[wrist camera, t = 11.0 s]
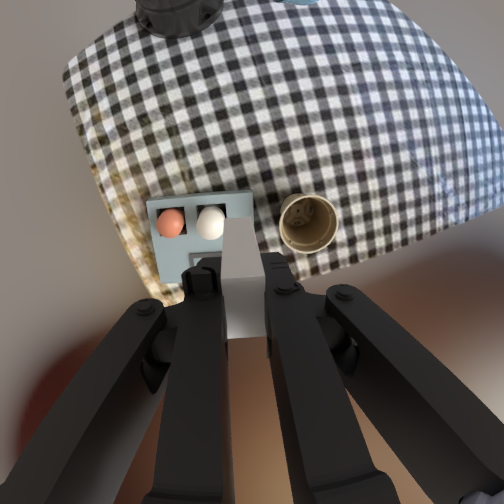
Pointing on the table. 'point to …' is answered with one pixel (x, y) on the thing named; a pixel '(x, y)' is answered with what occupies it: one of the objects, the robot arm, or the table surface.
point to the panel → (192, 230)
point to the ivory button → (210, 223)
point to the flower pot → (307, 223)
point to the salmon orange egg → (171, 222)
